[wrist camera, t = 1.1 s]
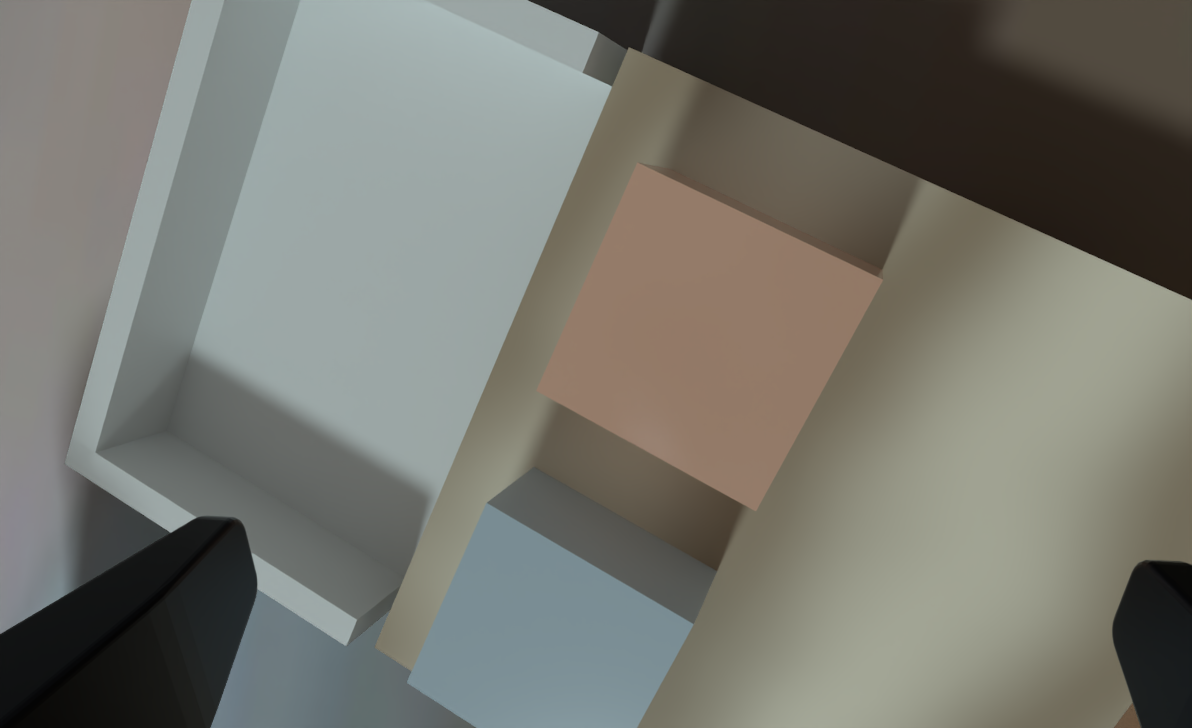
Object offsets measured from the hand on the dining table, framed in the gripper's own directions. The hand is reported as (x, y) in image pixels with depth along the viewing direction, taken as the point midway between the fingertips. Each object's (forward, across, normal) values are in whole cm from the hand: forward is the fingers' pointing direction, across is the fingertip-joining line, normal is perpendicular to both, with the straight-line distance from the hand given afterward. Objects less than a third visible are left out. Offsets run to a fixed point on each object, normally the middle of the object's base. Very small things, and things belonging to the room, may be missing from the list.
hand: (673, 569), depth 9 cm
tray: (+14, +8, +3) cm, 16 cm away
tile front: (+9, -1, +2) cm, 9 cm away
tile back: (+8, +2, +8) cm, 11 cm away
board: (+10, -3, +6) cm, 12 cm away
